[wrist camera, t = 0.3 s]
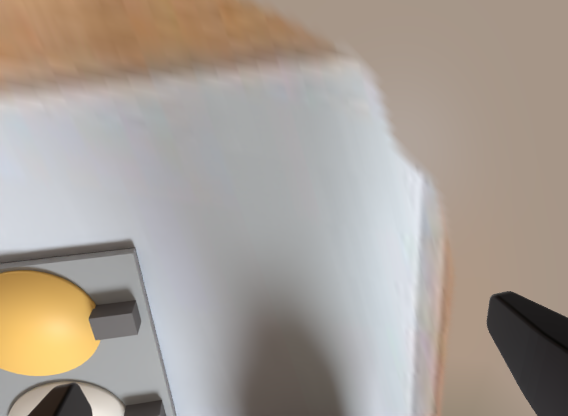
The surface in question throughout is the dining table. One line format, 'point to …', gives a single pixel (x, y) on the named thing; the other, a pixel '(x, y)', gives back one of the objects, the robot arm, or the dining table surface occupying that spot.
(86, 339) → the board
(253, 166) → the dining table surface
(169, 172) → the dining table surface
